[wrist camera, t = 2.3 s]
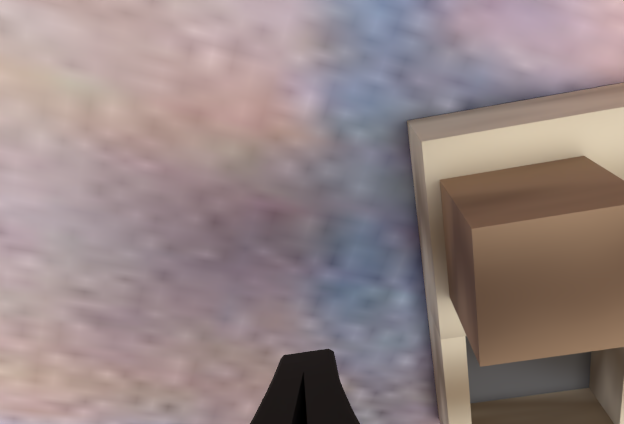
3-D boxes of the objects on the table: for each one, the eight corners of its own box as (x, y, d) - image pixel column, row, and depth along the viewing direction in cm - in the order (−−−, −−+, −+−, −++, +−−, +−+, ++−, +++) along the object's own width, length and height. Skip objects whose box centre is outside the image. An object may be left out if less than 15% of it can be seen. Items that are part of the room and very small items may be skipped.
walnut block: (579, 277, 20) (640, 344, 16) (449, 297, 20) (480, 366, 16) (583, 155, 18) (655, 199, 14) (439, 179, 18) (471, 228, 14)
